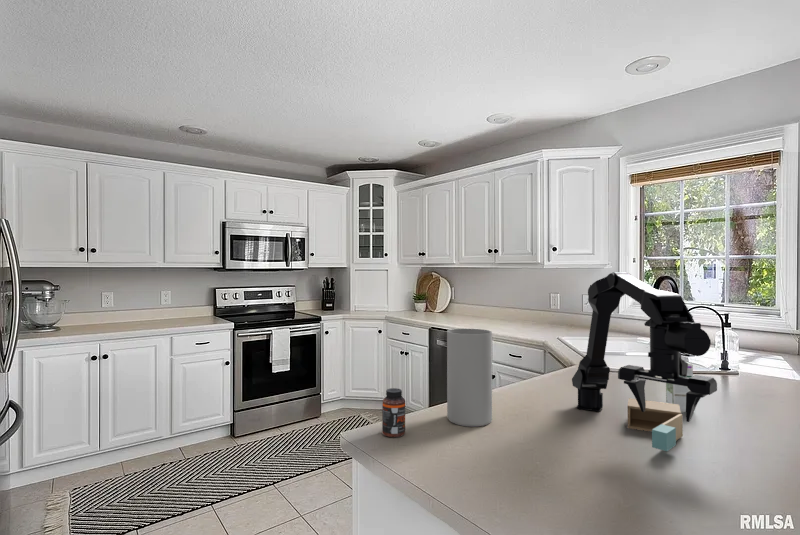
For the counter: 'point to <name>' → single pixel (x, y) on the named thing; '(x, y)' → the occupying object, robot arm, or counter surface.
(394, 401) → the supplement bottle
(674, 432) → the carton flap
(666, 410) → the carton
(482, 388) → the cylinder vase
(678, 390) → the syrup box
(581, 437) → the counter surface
